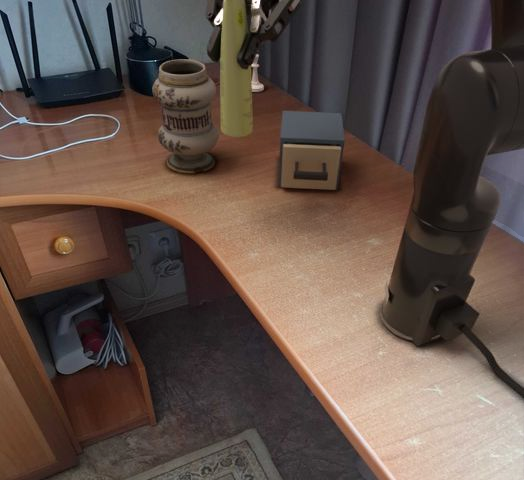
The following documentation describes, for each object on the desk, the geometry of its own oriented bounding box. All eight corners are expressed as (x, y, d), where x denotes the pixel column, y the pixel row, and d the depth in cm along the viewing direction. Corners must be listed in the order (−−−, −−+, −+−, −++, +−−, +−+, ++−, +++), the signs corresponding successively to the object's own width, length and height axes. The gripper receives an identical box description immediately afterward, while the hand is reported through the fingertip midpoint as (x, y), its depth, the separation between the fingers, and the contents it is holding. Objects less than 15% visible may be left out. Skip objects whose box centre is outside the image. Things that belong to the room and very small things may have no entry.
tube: (261, 135, 72) (263, -27, 57) (233, 142, 70) (227, -23, 55) (241, 121, 75) (239, -35, 60) (214, 128, 73) (204, -31, 58)
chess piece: (257, 93, 126) (257, 50, 118) (242, 89, 127) (241, 47, 120) (267, 88, 129) (268, 45, 121) (252, 84, 130) (252, 42, 123)
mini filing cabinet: (337, 190, 91) (344, 140, 84) (278, 187, 92) (280, 137, 84) (335, 160, 100) (341, 113, 93) (280, 157, 100) (282, 110, 93)
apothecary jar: (177, 182, 92) (165, 81, 79) (152, 158, 99) (137, 61, 86) (230, 167, 97) (227, 70, 84) (203, 145, 104) (196, 52, 90)
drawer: (336, 204, 86) (342, 162, 80) (279, 201, 86) (281, 159, 80) (333, 162, 97) (338, 123, 91) (283, 159, 98) (285, 121, 92)
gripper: (221, -96, 61) (171, 34, 63) (317, -87, 56) (259, 54, 58) (245, -48, 68) (199, 68, 70) (332, -36, 63) (280, 89, 65)
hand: (227, 61), depth 64 cm, fingers closed on tube, 4 cm apart
